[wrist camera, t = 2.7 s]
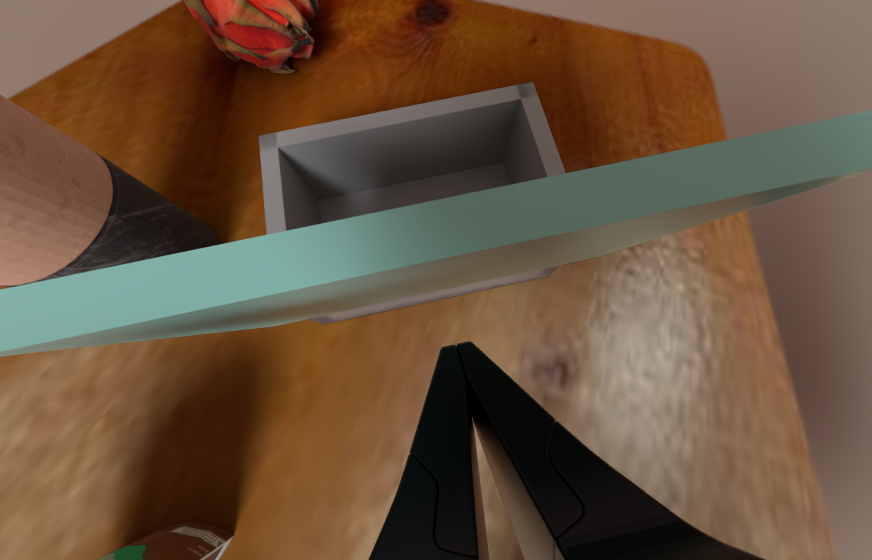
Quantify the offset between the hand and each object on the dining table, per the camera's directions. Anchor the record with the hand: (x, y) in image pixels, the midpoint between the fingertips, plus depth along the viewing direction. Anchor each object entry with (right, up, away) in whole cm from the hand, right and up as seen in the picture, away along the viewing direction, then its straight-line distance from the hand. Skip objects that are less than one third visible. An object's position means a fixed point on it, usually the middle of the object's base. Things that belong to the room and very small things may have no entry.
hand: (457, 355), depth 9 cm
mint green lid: (-1, +3, +2) cm, 3 cm away
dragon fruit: (-15, +23, +20) cm, 34 cm away
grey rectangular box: (-2, +5, +15) cm, 16 cm away
